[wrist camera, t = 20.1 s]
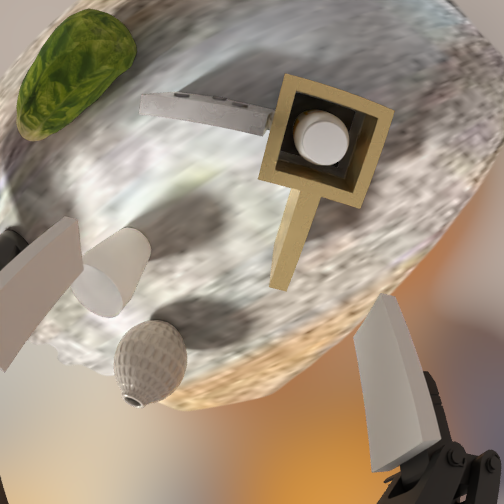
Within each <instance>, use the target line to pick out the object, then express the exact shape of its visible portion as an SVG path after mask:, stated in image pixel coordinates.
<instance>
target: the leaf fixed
mask: <svg viewBox="0 0 504 504" xmlns="http://www.w3.org/2000/svg"><path fill="white" fill-rule="evenodd" d="M297 93H300V92H297ZM300 94H304V93H300ZM304 95H307V94H304ZM307 96H310V95H307ZM311 97H314V96H311ZM314 98H317V97H314ZM317 99H320V98H317ZM321 100H324V99H321ZM324 101H327V100H324ZM327 102H330V101H327ZM330 103H333V102H330ZM333 104H336V103H333ZM336 105H339V104H336ZM339 106H342V105H339ZM342 107H345V106H342ZM345 108H348V107H345ZM348 109H351V108H348ZM351 110H353V109H351ZM354 111H356V110H354ZM139 114H142V115H150V116H158V117H165V118H172V119H179V120H185V121H191V122H197V123H202V124H208V125H213V126H218V127H223V128H228V129H233V130H237V131H242V132H246V133H250V134H255V135H259V136H263V135H264V134H265V132H266V130H270V129H271V125H272V122H273V118H274V114H275V110H274V109H269V108H265V107H261V106H257V105H252V104H247V103H243V102H238V101H233V100H227V98H223V97H217V96H213V97H210V96H204V95H198V94H191V93H183V92H163V93H150V94H142V95H141V101H140V108H139ZM365 116H366V114H364V113H361V112H359V111H356V112H355V115H354V118H353V121H352V125H351V128H350V131H349V145H348V149H347V151H346V153H345V155H344V157H343V158H342V159H341V160H340V162H339V165H338V168H337V167H334V166H331V165H316V164H313V163H311V162H309V161H307V160H305V159H304V158H303V157H301V156H298V155H294V154H290V153H287V152H283V151H280V152H279V156H278V160H282V161H286V162H289V163H293V164H296V165H300V166H303V167H307V168H310V169H314V170H317V171H320V172H323V173H327V174H330V175H333V176H336V177H339V178H342V179H345V177H346V174H347V171H348V168H349V165H350V162H351V159H352V156H353V153H354V150H355V147H356V144H357V141H358V138H359V135H360V132H361V129H362V126H363V122H364V119H365Z"/></svg>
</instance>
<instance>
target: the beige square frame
mask: <svg viewBox="0 0 504 504" xmlns="http://www.w3.org/2000/svg"><path fill="white" fill-rule="evenodd" d="M296 92H300V93H304V94H307V95H310V96H314V97H317V98H320V99H324V100H327V101H330V102H333V103H336V104H339V105H342V106H345V107H348V108H351V109H353V110H356V111H359V112H361V113H364V114H366V116H365V119H364V122H363V126H362V129H361V132H360V135H359V138H358V141H357V144H356V147H355V150H354V153H353V156H352V159H351V162H350V165H349V168H348V171H347V174H346V177H345V179H342V178H339V177H336V176H333V175H330V174H327V173H323V172H320V171H317V170H314V169H310V168H307V167H303V166H300V165H296V164H293V163H289V162H286V161H282V160H278V156H279V152H280V148H281V145H282V141H283V137H284V133H285V130H286V126H287V122H288V119H289V115H290V111H291V107H292V104H293V100H294V96H295V93H296ZM394 112H395V111H394V110H392V109H389V108H387V107H385V106H382V105H380V104H378V103H375V102H373V101H370V100H367V99H365V98H362V97H360V96H357V95H354V94H351V93H349V92H346V91H343V90H340V89H337V88H334V87H331V86H328V85H325V84H321V83H318V82H315V81H311V80H308V79H304V78H301V77H297V76H293V75H289V74H285V75H284V79H283V83H282V87H281V91H280V95H279V98H278V102H277V106H276V110H275V114H274V118H273V122H272V125H271V129H270V133H269V137H268V141H267V145H266V149H265V153H264V157H263V161H262V165H261V169H260V173H259V177H258V179H259V180H263V181H267V182H270V183H274V184H278V185H282V186H285V187H289V188H291V191H290V194H289V197H288V201H287V204H286V207H285V211H284V214H283V217H282V221H281V224H280V227H279V230H278V234H277V237H276V240H275V243H274V250H273V258H272V267H271V275H270V283H269V287H271V288H275V289H279V290H283V291H287V288H288V286H289V283H290V281H291V278H292V275H293V273H294V270H295V268H296V265H297V262H298V260H299V257H300V254H301V252H302V249H303V246H304V243H305V241H306V238H307V235H308V232H309V230H310V227H311V224H312V221H313V218H314V216H315V213H316V210H317V207H318V204H319V201H320V198H321V197H324V198H327V199H330V200H333V201H337V202H340V203H343V204H346V205H349V206H352V207H356V208H359V209H360V208H361V205H362V203H363V200H364V198H365V195H366V193H367V190H368V187H369V185H370V182H371V179H372V177H373V174H374V171H375V168H376V166H377V163H378V160H379V157H380V154H381V152H382V149H383V146H384V143H385V140H386V137H387V134H388V131H389V128H390V125H391V121H392V118H393V115H394Z"/></svg>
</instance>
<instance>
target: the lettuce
mask: <svg viewBox="0 0 504 504" xmlns="http://www.w3.org/2000/svg"><path fill="white" fill-rule="evenodd" d="M136 53H137V48H136V44H135V42H134V40H133V38H132V36H131V34H130V32H129V30H128V29H127V28H126V27H125V25H124V24H123V23H121V22H120V21H119V20H118V19H116V18H115V17H114V16H112V15H110V14H108V13H105V12H102V11H98V10H94V9H85V10H82V11H80V12H78V13H76V14H73V15H71V16H69V17H68V18H67V19H66V20H64V21H63V22H62V23H61V24H60V25H59V26H58V27H57V28H56V29H55V30H54V32H53V33H52V34H51V36H50V37H49V38H48V40H47V41H46V43H45V44H44V45H43V47H42V48H41V50H40V52H39V54H38V56H37V58H36V59H35V61H34V63H33V64H32V66H31V67H30V69H29V70H28V72H27V74H26V76H25V78H24V80H23V82H22V85H21V87H20V91H19V95H18V100H17V120H16V124H17V128H18V131H19V133H20V135H21V136H22V137H23V138H24V139H26V140H29V141H39V140H43V139H45V138H46V137H48V136H49V135H51V134H54V133H56V132H58V131H59V130H61V129H62V128H64V127H65V126H67V125H68V124H70V123H71V122H72V121H73V120H74V119H75V118H76V117H78V116H79V115H80V114H81V113H82V112H83V111H84V110H85V109H86V108H87V107H88V106H90V105H91V104H92V103H94V102H95V101H96V100H97V99H98V98H99V97H100V96H101V95H102V94H103V93H104V92H105V90H106V89H107V88H108V87H109V86H110V85H111V83H112V82H113V81H114V80H115V79H116V78H117V77H118V76H119V75H121V74H122V73H123V72H125V71H126V70H128V69H129V68H130V67H131V66H132V64H133V61H134V58H135V55H136Z"/></svg>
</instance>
